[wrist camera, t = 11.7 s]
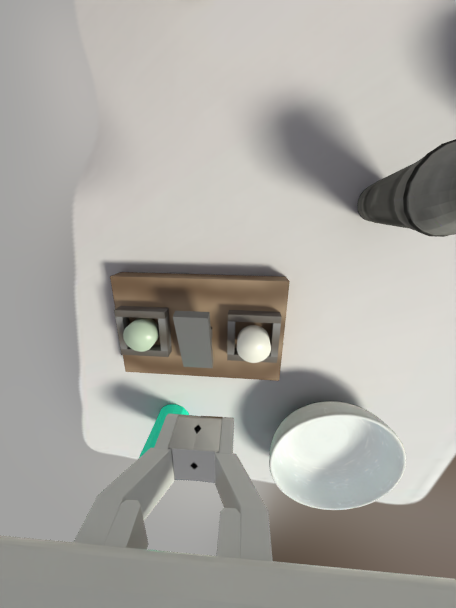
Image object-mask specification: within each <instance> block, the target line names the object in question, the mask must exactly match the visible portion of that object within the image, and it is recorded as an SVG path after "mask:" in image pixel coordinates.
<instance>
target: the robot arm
mask: <svg viewBox="0 0 456 608" xmlns="http://www.w3.org/2000/svg"><path fill="white" fill-rule="evenodd" d="M233 436H234V418H228V417H212V416H192V415H181V414H168V415H167V416H166V418H165V421H164V423H163V426H162V429H161V431H160V434H159V436H158V439H157V442H156V444H155V447H154V448H150V449H149V450H148V451H147V452H145V453H144V454H143V455H142V456H141V457H140V458H139V459H138V460H137V461H136V462H134V463H133V464H132V465H131V466H130V467H129V468H128V469H127V470H126V471H125V472H123V473H122V474H121V475H120V476H119V477H118V478H117V479H115V480H114V481H113V482H112V483H111V484H110V485H109V486H108V487H107V488H106V489H104V490H103V491H102V492H101V493H100V494H99V495H98V496H97V498H96V500H95V502H94V504H93V506H92V508H91V510H90V511H89V513H88V515H87V517H86V519H85V521H84V523H83V525H82V527H81V529H80V531H79V532H78V535H77V537H76V538H75V540H74V542H63V541H51V540H41V539H30V538H20V537H10V536H0V608H456V579H452V578H441V577H430V576H420V575H409V574H399V573H387V572H378V571H367V570H357V569H346V568H335V567H325V566H314V565H304V564H293V563H283V562H273V561H272V550H271V538H270V526H269V514H268V509H267V507H266V506H265V504H264V502H263V500H262V499H261V497H260V495H259V493H258V492H257V490H256V489H255V486H254V485H253V483H252V481H251V479H250V477H249V476H248V474H247V472H246V470H245V469H244V467H243V465H242V463H241V462H240V460H239V458H238V456H237V455H236V454H233ZM174 480H194V481H203V482H204V481H205V482H213V483H215V485H216V487H217V490H218V493H219V495H220V498H221V501H222V503H223V506H224V509H223V510H222V511H221V512H220V521H219V532H218V544H217V555H216V556H210V555H209V556H208V555H198V554H188V553H178V552H168V551H157V550H147V547H148V539H147V535H146V530H145V525H144V520H145V519H146V518H147V516H148V515H149V514H150V512H151V511H152V510H153V509H154V507H155V506H156V504H157V503H158V502H159V501H160V499H161V498H162V497H163V495H164V494H165V493H166V492H167V490H168V489H169V488H170V486H171V485H172V484H173V482H174Z"/></svg>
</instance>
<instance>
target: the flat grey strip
mask: <svg viewBox="0 0 456 608" xmlns="http://www.w3.org/2000/svg"><path fill="white" fill-rule="evenodd" d="M173 320H174V325H175V330H176V334H177V339H178V343H179V348H180V353H181V357H182V362H183V367H197V368H213V350H212V337H211V325H210V313H209V312H198V311H175V312H174V315H173Z"/></svg>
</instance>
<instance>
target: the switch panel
mask: <svg viewBox="0 0 456 608" xmlns="http://www.w3.org/2000/svg"><path fill="white" fill-rule="evenodd" d="M110 279H111V285H112V291H113V297H114V303H115V310H114V312H115V318H116V325H117V331H118V337H119V343H120V349H121V355H123V358H124V365H125V371H126V372H140V373H157V374H174V375H191V376H209V377H226V378H243V379H260V380H278V381H279V377H280V367H281V357H282V348H283V338H284V329H285V319H286V309H287V300H288V290H289V280H288V279H287V278H286V277H280V276H244V275H208V274H172V273H137V272H120V273H117V274H115V275H112V276H110ZM175 311H198V312H209V313H210V325H211V337H212V350H213V368H197V367H183V362H182V357H181V353H180V348H179V343H178V339H177V334H176V330H175V325H174V320H173V315H174V312H175ZM137 318H151V319H152V320H154V321H155V322H156V323H157V324H158V326H159V335H160V336H159V338H158V339H157V341H156V342H155V343H154V345H153V346H152V347H151V348H150V349H149V350H147V351H143V352H139V351H135V350H133V349H131V348H130V347H129V346H128V345H127V344H126V343H125V341H124V338H123V333H124V330H125V328H126V327H127V326H128V325H130V324H131V323H132V322H133V321H134V320H135V319H137ZM250 325H257V326H260V327H262V328H264V329H265V330H266V331H267V333H268V335H269V340H270V345H271V351H270V354H269V356H268V357H267V358H266V359H265V360H263V361H261V362H258V363H250V362H247V361H245V360H243V359H242V358H241V357H240V356H239V354H238V352H237V339H238V334H239V332H240V331H241V330H242V329H243V328H244V327H246V326H250Z"/></svg>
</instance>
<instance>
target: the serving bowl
mask: <svg viewBox="0 0 456 608" xmlns="http://www.w3.org/2000/svg"><path fill="white" fill-rule="evenodd" d="M405 465H406V454H405V450H404V447H403V444H402V442H401V441H400V439H399V438H398V436H397V435H396V434H395V433H394V432H393V431H392V430H391V429H390V428H389V427H388V426H387V425H386V424H385V423H384V422H383V421H382V420H381V419H379V418H378V417H377V416H375V415H374V414H372V413H370V412H369V411H367V410H365V409H363V408H360V407H358V406H355V405H352V404H348V403H343V402H332V401H329V402H318V403H313V404H310V405H307V406H304V407H302V408H300V409H298V410H296V411H294V412H293V413H291V414H290V415H289V416H288V417H286V418H285V419H284V420H283V422H282V423H281V424H280V425H279V427H278V428H277V430H276V432H275V434H274V436H273V439H272V443H271V448H270V460H269V466H270V472H271V475H272V478H273V480H274V482H275V483H276V485H277V486H278V488H279V489H280V490H281V491H282V492H283V493H285V494H286V495H287V496H288V497H290V498H291V499H293V500H295V501H297V502H299V503H301V504H304V505H306V506H310V507H314V508H319V509H326V510H344V509H351V508H356V507H360V506H364V505H367V504H369V503H372V502H374V501H376V500H378V499H380V498H382V497H383V496H385V495H386V494H388V493H389V492H390V491H391V490H392V489H393V488H394V487H395V486H396V485H397V483H398V482H399V481H400V479H401V477H402V475H403V473H404V470H405Z"/></svg>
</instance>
